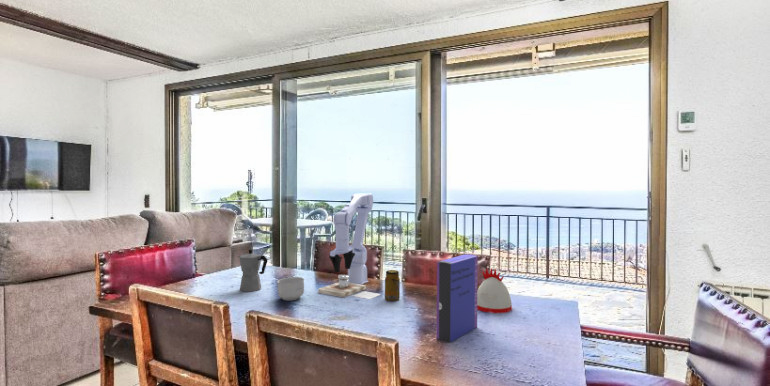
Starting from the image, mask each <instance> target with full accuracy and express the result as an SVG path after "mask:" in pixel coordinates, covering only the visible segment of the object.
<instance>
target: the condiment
mask: <svg viewBox="0 0 770 386" xmlns="http://www.w3.org/2000/svg"><path fill="white" fill-rule="evenodd" d="M399 273H400V272H399V271H398V270H395V269H390V270H389V269H388V270H386V271H385V279H384V300H385V301H387V302H398V301H399V300H400V297H401V296H400V295H401V294H400V288H401V287H400V286H401V285H400V284H401V282H400V281H401V280H400V279H401V278H400V276H399V275H400V274H399Z"/></svg>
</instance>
